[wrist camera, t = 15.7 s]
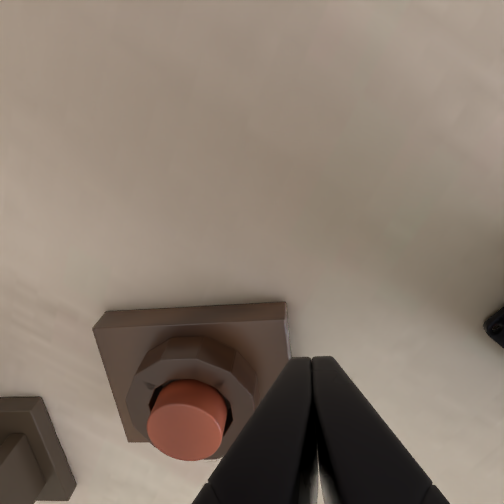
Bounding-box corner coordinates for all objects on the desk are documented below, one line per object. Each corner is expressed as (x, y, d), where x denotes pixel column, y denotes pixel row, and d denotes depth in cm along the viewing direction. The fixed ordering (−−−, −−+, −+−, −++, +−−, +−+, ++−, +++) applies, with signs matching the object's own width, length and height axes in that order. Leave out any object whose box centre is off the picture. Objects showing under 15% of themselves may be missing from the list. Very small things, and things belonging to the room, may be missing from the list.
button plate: (286, 301, 21) (283, 341, 18) (297, 418, 24) (297, 470, 21) (105, 311, 23) (74, 349, 20) (138, 420, 26) (115, 469, 23)
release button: (221, 376, 20) (215, 403, 18) (232, 432, 21) (226, 461, 20) (150, 378, 20) (138, 404, 19) (165, 433, 22) (155, 461, 20)
